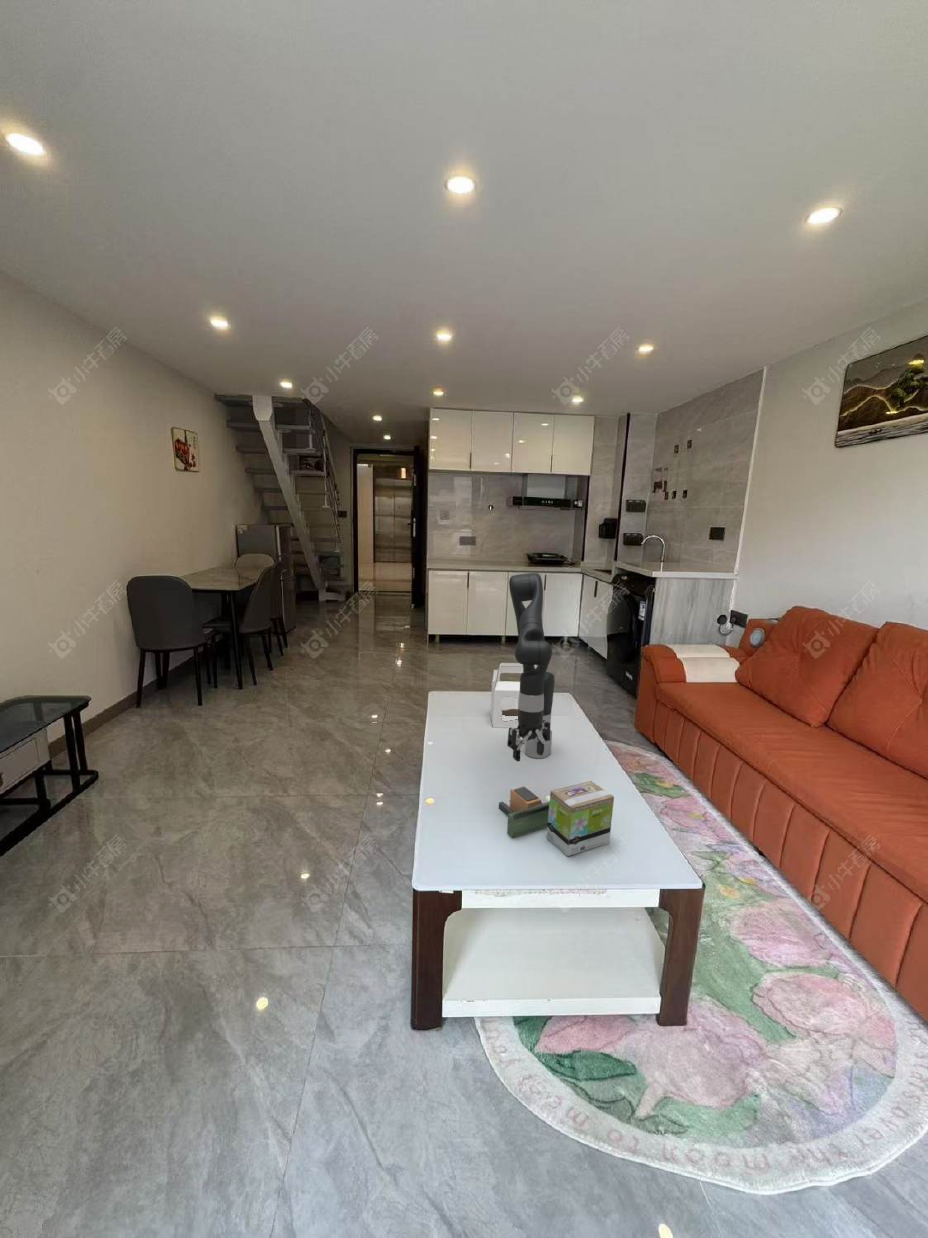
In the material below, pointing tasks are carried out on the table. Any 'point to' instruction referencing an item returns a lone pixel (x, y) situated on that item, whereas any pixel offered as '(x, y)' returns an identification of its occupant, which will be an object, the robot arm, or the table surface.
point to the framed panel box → (523, 799)
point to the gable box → (505, 694)
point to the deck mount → (525, 818)
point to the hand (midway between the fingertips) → (528, 757)
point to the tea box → (579, 817)
